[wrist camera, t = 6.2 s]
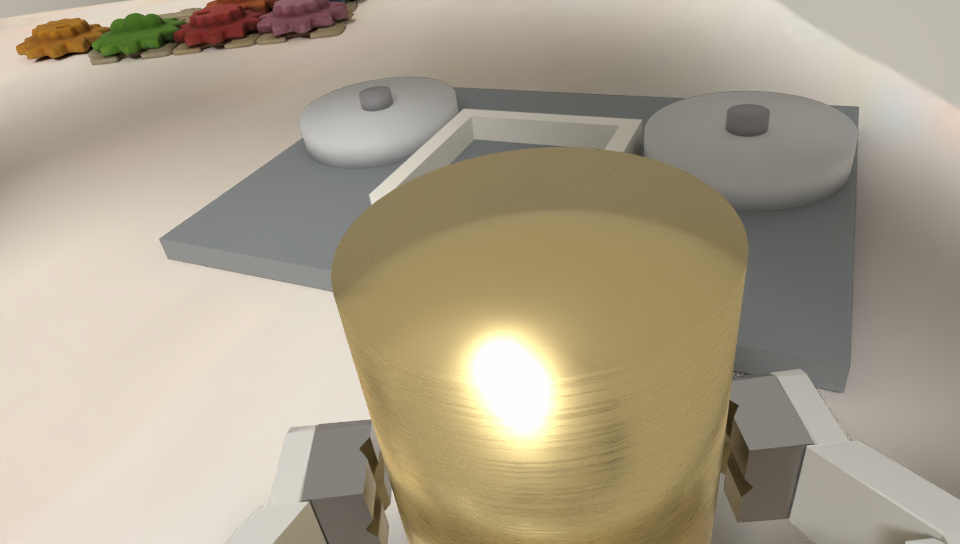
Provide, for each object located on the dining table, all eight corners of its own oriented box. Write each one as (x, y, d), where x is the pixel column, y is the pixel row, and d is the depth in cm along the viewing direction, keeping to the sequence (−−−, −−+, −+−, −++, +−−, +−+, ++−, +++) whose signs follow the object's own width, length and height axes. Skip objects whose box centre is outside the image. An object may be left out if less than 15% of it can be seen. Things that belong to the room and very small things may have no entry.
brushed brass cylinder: (400, 709, 14) (244, 323, 8) (502, 500, 17) (444, 136, 12) (664, 834, 12) (707, 433, 6) (714, 566, 15) (770, 163, 10)
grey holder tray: (167, 258, 29) (138, 193, 27) (383, 99, 42) (372, 47, 40) (842, 392, 19) (867, 301, 17) (854, 127, 32) (868, 59, 30)
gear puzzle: (-14, 86, 58) (-40, 37, 56) (78, 32, 71) (59, -9, 69) (345, 43, 56) (333, -9, 53) (370, -5, 69) (362, -48, 67)
